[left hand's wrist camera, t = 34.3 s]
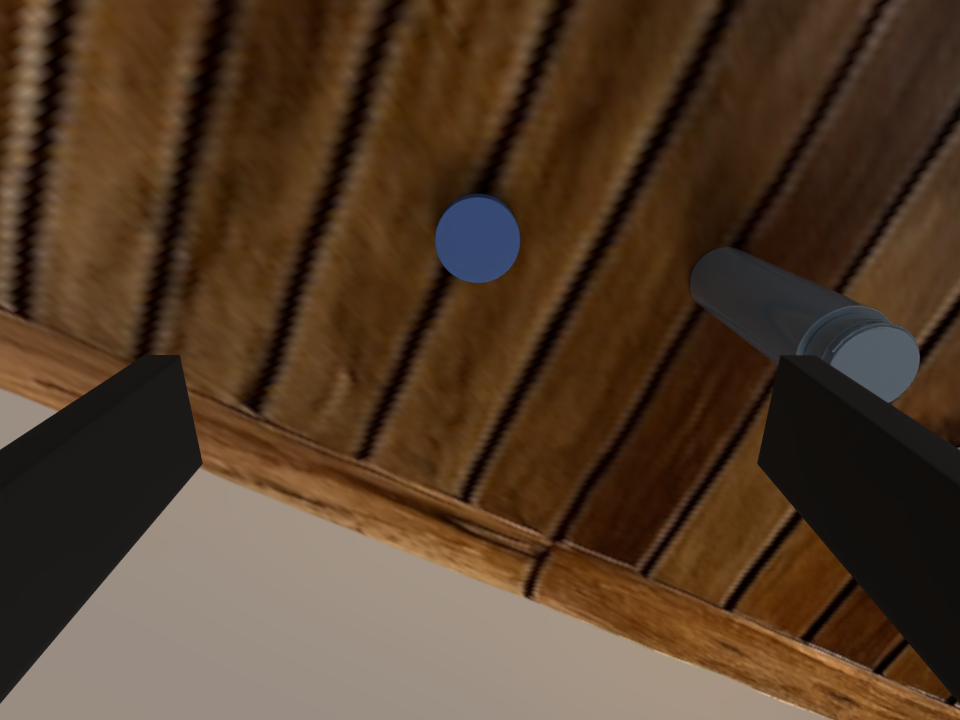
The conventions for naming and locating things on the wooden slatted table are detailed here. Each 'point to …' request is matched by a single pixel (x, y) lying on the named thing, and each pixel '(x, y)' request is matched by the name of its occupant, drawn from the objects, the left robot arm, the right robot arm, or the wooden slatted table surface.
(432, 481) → the wooden slatted table surface
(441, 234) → the lid
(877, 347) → the jar
